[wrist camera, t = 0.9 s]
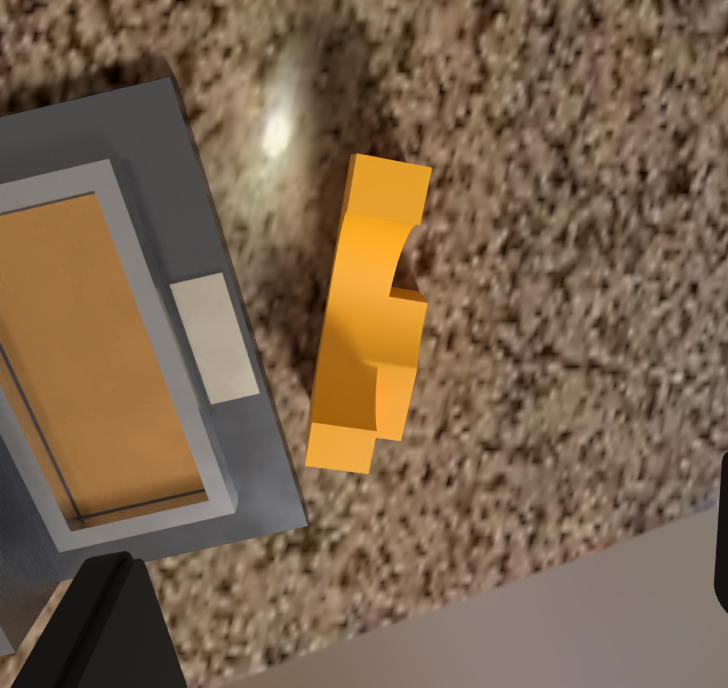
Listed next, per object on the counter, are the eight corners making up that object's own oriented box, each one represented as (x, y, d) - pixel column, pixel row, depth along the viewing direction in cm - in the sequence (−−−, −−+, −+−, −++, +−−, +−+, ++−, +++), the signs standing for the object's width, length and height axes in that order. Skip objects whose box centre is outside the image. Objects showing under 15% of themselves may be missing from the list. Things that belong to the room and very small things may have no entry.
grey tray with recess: (176, 80, 23) (131, 57, 18) (308, 514, 30) (303, 588, 25) (-169, 162, 23) (-313, 164, 18) (43, 573, 30) (-17, 659, 25)
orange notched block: (393, 410, 29) (410, 479, 23) (310, 399, 28) (304, 465, 22) (444, 172, 25) (481, 177, 19) (350, 154, 25) (356, 153, 18)
